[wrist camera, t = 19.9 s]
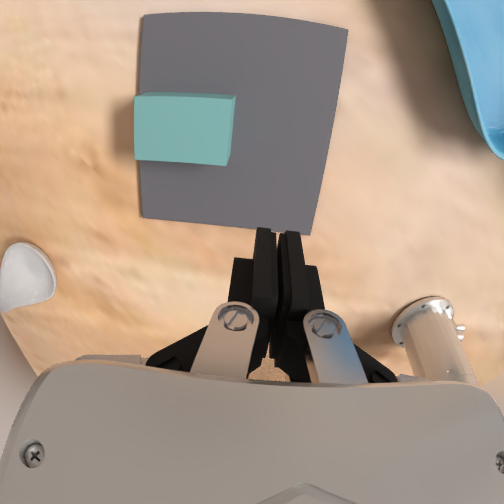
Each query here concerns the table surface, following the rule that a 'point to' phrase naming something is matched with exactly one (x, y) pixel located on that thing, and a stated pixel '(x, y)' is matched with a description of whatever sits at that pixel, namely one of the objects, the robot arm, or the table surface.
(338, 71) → the mat
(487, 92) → the casserole dish
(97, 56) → the table surface
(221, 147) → the teal rectangular block
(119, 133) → the table surface
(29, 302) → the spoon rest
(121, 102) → the table surface
